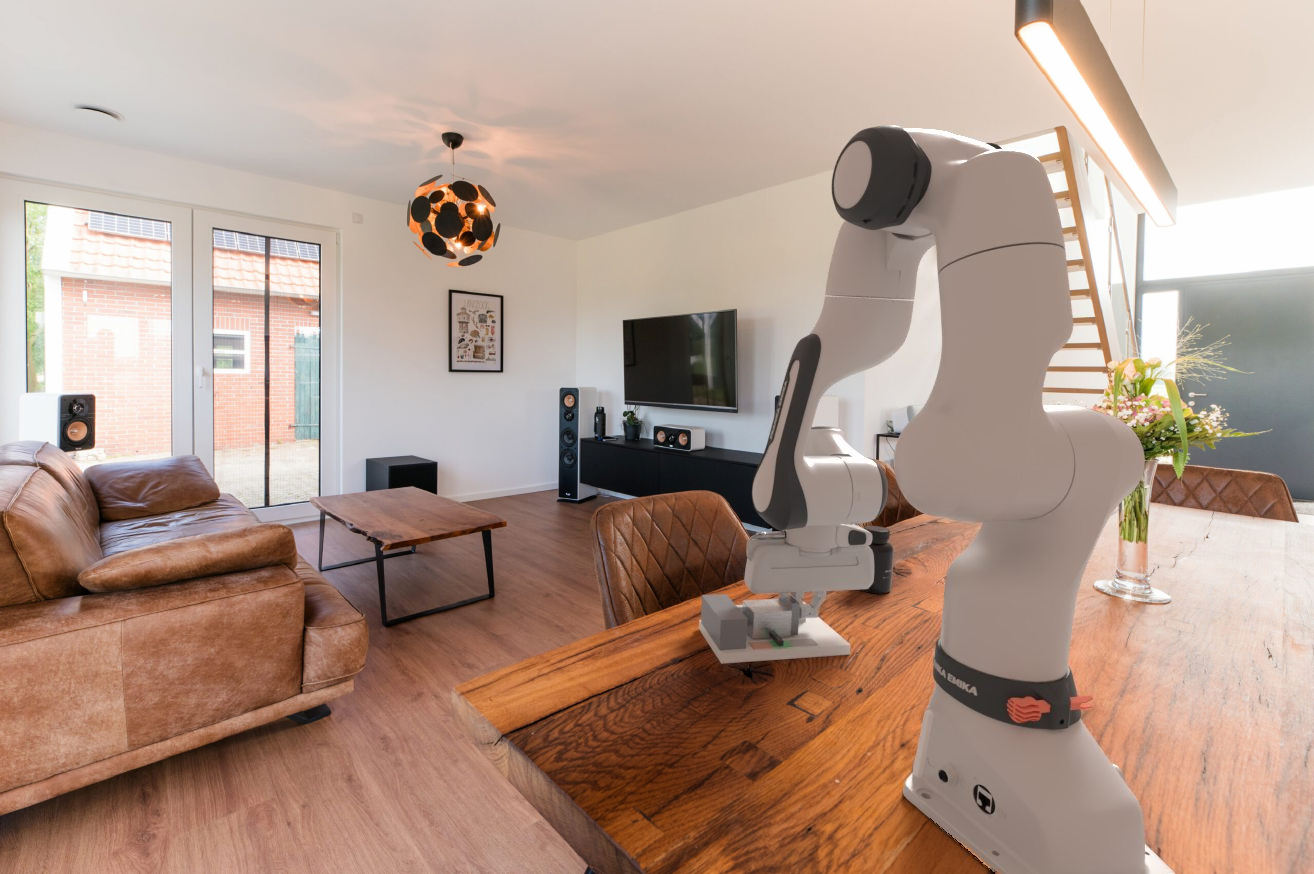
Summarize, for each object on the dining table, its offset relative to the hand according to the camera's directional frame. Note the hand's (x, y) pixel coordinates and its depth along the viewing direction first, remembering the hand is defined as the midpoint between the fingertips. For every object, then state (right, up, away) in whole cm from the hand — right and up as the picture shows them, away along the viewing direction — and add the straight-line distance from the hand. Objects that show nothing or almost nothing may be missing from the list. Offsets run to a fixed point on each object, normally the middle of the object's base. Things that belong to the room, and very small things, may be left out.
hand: (807, 617), depth 97 cm
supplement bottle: (+19, -2, +25) cm, 31 cm away
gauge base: (-6, -4, -1) cm, 7 cm away
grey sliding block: (-6, -2, -3) cm, 7 cm away
